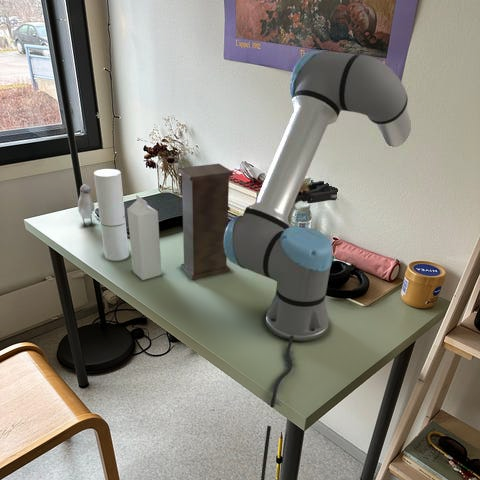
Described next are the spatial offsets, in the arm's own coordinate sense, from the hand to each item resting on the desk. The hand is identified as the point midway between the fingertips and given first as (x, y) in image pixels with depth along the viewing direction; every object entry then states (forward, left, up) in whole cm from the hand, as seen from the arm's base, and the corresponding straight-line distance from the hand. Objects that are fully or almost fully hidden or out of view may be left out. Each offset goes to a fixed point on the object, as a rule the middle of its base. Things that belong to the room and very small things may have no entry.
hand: (277, 196), depth 136 cm
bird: (-6, +64, -19) cm, 67 cm away
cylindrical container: (-21, +43, -19) cm, 51 cm away
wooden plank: (+1, 0, -5) cm, 5 cm away
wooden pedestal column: (-18, +15, -19) cm, 30 cm away
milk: (-27, +29, -19) cm, 44 cm away
